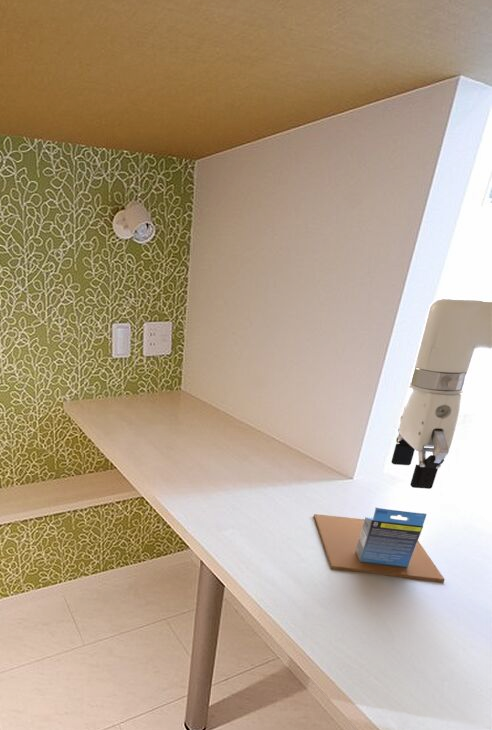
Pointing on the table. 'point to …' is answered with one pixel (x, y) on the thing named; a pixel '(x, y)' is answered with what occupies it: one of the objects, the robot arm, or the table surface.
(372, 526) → the label tape box
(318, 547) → the table surface
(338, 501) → the table surface
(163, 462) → the table surface
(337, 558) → the cork mat
